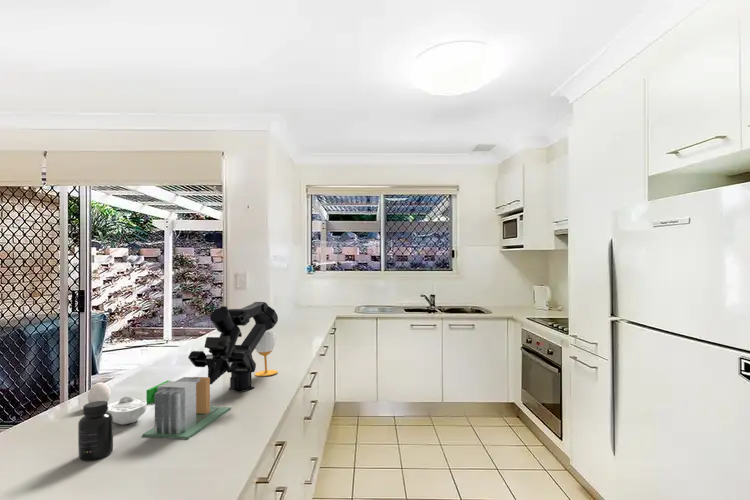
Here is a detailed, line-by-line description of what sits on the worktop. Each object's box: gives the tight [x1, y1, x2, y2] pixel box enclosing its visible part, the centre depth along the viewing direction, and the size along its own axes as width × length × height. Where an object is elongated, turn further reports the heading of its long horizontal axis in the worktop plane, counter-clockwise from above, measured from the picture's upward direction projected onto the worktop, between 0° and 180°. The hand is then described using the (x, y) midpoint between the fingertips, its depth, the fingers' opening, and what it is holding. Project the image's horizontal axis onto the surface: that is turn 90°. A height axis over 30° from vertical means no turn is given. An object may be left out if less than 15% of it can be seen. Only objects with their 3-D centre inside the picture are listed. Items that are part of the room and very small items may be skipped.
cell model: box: [107, 395, 148, 426], centre depth 120 cm, size 10×12×7 cm
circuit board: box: [141, 405, 232, 440], centre depth 120 cm, size 22×13×1 cm, turn 171°
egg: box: [87, 382, 112, 403], centre depth 133 cm, size 6×6×8 cm
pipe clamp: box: [145, 380, 170, 405], centre depth 141 cm, size 11×4×5 cm, turn 174°
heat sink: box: [154, 376, 219, 435], centre depth 119 cm, size 20×8×12 cm, turn 171°
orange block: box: [196, 376, 211, 414], centre depth 125 cm, size 2×5×10 cm, turn 81°
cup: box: [254, 331, 278, 377], centre depth 171 cm, size 9×9×16 cm
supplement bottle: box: [77, 401, 114, 462], centre depth 99 cm, size 7×7×12 cm
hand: (209, 383), depth 130 cm, fingers closed
